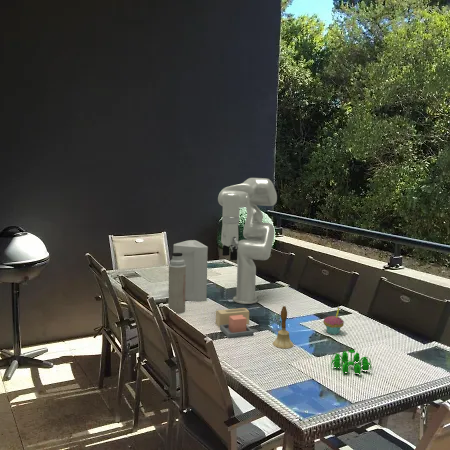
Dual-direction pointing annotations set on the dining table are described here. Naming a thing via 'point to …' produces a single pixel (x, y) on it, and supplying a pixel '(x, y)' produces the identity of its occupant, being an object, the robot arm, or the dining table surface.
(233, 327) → the stub
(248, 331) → the tray
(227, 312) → the tan slotted block
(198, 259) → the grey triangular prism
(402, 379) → the dining table surface
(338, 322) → the cupcake
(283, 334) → the hand bell
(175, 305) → the thermos bottle
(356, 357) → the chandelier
